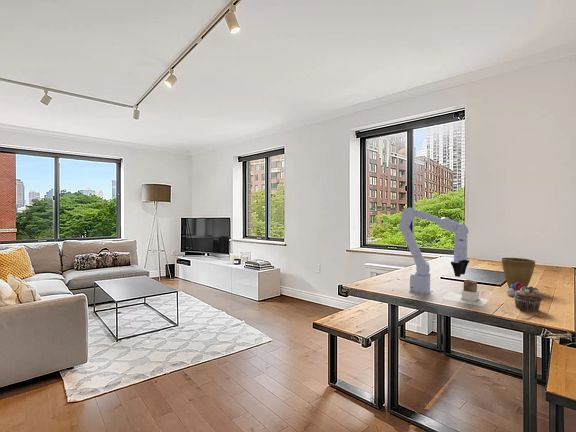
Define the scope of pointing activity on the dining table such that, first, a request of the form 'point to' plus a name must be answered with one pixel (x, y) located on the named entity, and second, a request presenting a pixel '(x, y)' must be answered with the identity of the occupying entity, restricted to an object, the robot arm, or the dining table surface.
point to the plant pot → (518, 270)
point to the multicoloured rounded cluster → (515, 288)
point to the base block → (470, 295)
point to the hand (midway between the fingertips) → (459, 275)
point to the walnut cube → (470, 285)
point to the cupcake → (528, 299)
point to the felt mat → (458, 299)
